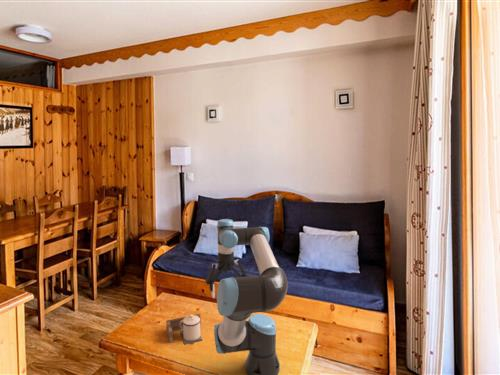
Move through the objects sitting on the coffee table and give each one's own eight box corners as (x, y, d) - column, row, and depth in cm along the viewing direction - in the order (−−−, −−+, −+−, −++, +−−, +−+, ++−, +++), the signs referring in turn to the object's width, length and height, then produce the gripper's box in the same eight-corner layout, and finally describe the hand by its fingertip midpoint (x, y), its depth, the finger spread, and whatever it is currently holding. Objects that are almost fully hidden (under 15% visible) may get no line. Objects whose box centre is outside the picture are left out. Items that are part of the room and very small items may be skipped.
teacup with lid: (204, 333, 169) (203, 312, 168) (194, 343, 161) (193, 321, 160) (185, 328, 174) (184, 308, 173) (174, 337, 166) (173, 316, 165)
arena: (207, 339, 165) (206, 328, 164) (171, 347, 158) (170, 336, 157) (200, 323, 179) (199, 313, 178) (166, 331, 172) (166, 320, 171)
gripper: (246, 246, 163) (247, 286, 165) (198, 253, 153) (199, 296, 155) (252, 250, 156) (253, 292, 158) (202, 257, 146) (203, 302, 148)
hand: (226, 294), depth 157 cm, fingers open, 13 cm apart
